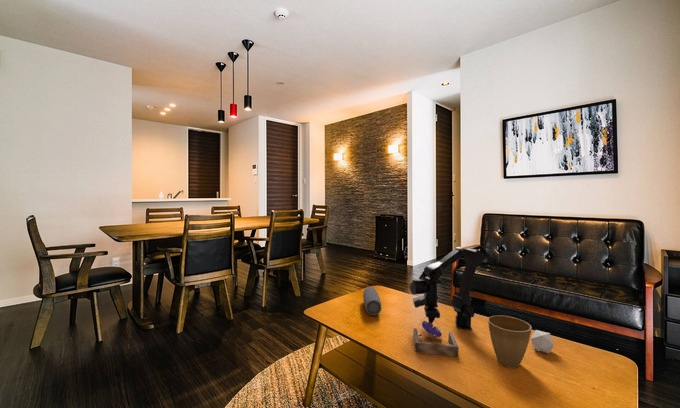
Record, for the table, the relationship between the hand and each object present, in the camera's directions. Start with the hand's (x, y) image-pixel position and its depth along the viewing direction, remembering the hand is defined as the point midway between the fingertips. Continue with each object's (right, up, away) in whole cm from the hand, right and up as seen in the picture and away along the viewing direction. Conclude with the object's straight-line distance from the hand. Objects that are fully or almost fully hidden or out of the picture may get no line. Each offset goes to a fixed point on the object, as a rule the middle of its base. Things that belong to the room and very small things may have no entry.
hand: (430, 324), depth 142 cm
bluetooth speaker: (-26, -2, +26) cm, 37 cm away
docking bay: (-3, -4, -14) cm, 14 cm away
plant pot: (+23, -5, -26) cm, 35 cm away
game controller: (-3, -4, -7) cm, 8 cm away
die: (+43, -5, -16) cm, 46 cm away
